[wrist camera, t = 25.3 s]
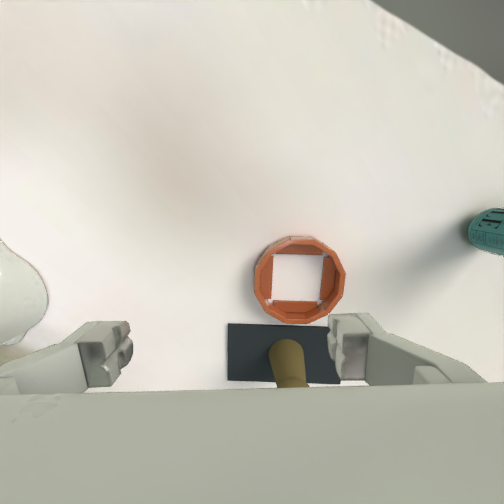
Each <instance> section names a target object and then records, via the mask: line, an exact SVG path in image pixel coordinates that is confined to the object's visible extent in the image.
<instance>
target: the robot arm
mask: <svg viewBox="0 0 504 504" xmlns="http://www.w3.org/2000/svg"><path fill="white" fill-rule="evenodd" d="M46 309H47V292H46V288H45V286H44V283H43V281H42V279H41V278H40V276H39V274H38V273H37V272H36V271H35V269H34V268H33V267H32V266H31V265H30V264H28V263H27V262H26V261H25V260H23V259H22V258H20V257H18V256H17V255H15V254H14V253H12V252H11V251H10V250H9V249H8V248H7V247H6V246H5V245H4V244H3V242H2V241H1V240H0V346H1V345H3V344H7V345H14V344H16V343H18V342H20V341H21V340H22V339H23V337H24V335H25V333H26V331H27V330H29V329H30V328H32V327H33V326H35V325H36V324H37V323H38V322H39V321H40V320H41V319H42V318H43V316H44V314H45V312H46ZM328 327H329V329H330V332H329V333H328V335H327V345H328V351H329V355H330V357H331V359H332V360H333V361H335V368H336V371H337V373H338V375H339V377H340V379H341V380H365V382H366V383H368V384H369V385H370V386H334V387H296V388H258V389H219V390H180V391H142V392H103V393H83V392H84V391H86V390H87V389H88V388H92V387H110V386H112V385H113V383H114V382H115V381H116V379H117V378H118V377H119V375H120V374H121V371H120V369H121V368H123V367H125V366H126V365H127V364H128V363H129V361H130V360H131V357H132V354H133V342H132V340H131V339H130V338H129V337H128V335H129V333H130V327H129V323H128V322H127V321H95V322H87V323H85V324H84V325H83V326H81V327H80V328H79V329H78V330H76V331H75V332H74V333H72V334H71V335H70V336H69V337H67V338H66V339H65V340H63V341H62V342H61V343H59V344H54V345H51V346H49V347H46V348H43V349H41V350H38V351H36V352H33V353H31V354H28V355H26V356H23V357H21V358H18V359H16V360H13V361H11V362H8V363H5V364H3V365H0V504H504V382H491V383H488V382H487V381H485V380H484V379H483V378H482V377H481V376H479V375H478V374H477V373H476V372H475V371H473V370H472V369H471V368H470V367H469V366H467V365H466V364H464V363H462V362H459V361H457V360H455V359H452V358H450V357H447V356H445V355H443V354H440V353H438V352H435V351H433V350H430V349H428V348H426V347H423V346H421V345H418V344H416V343H413V342H411V341H409V340H406V339H404V338H401V337H399V336H396V335H394V334H388V333H387V332H386V331H385V330H384V329H383V328H382V327H381V326H380V325H379V324H378V323H377V322H376V321H375V319H374V318H373V317H372V316H371V315H370V314H369V313H348V314H331V315H329V316H328Z"/></svg>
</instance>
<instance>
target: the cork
mask: <svg viewBox="0 0 504 504" xmlns="http://www.w3.org/2000/svg"><path fill="white" fill-rule="evenodd" d="M269 360H270V363H271V367H272V370H273V374H274V377H275V381H276V384H277V388H296V387H309V385H308V384H307V383H306V374H305V363H304V353H303V349H302V347H301V345H300V344H299V343H297V342H296V341H294V340H291V339H282V340H279V341H277V342H275V343H274V344H273V345H272V346H271V348H270V350H269Z"/></svg>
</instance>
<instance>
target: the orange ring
mask: <svg viewBox="0 0 504 504" xmlns="http://www.w3.org/2000/svg"><path fill="white" fill-rule="evenodd" d="M323 251H324V252H326V253H327V254H328V255H329V257H324V264H323V273H322V283H321V293H320V300H325V301H324V302H323V303H322V304H321V305H319V306H317V302H310V301H279V300H273V305H272V304H270V303H269V302H268V301H267V299H266V298H269V299H271V291H272V271H273V256H271V255H272V254H273V253H275V252H276V254H305V255H322V252H323ZM335 270H336V271H335ZM345 275H346V274H345V271H344V269H343V266H342V264H341V262H340V260H339V258H338V256H337V254H336V253H335V251H333V250H332V249H331V248H329V247H328V246H326V245H324V244H323V243H321V242H320V241H318V240H316V239H315V238H313V237H303V236H289V237H286V238H284V239H282V240H280V241H277V242H276V243H274V244H272V245H270V246H268V248H266V250H265V251H264V253H263V254H262V255H261V258H260V259H259V261H258V262H257V264H256V266H255V281H254V293H255V295H256V297H257V299H258V300H259V302H260V304H261V306H262V307H263V309H264V311H265V312H266V313H268V314H269V315H271V316H273V317H275V318H276V319H278V320H280V321H282V322H283V323H292V324H307V323H308V324H309V323H311V322H313V321H315V320H317V319H320V318H322V317H324V316H326V315H328V313H330V312H331V311H332V309H333V308H334V307H335V306H336V304H337V303H338V302H339V300H340V299H341V298H342V295H343V291H344V283H345ZM334 277H335V280H334ZM333 286H334V288H333Z"/></svg>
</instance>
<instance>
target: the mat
mask: <svg viewBox="0 0 504 504" xmlns="http://www.w3.org/2000/svg"><path fill="white" fill-rule="evenodd" d="M329 332H330V329H329V327H319V326H289V325H259V324H228V380H232V381H261V382H276V381H275V377H274V374H273V370H272V367H271V363H270V360H269V350H270V348H271V346H272V345H273V344H274V343H275V342H277V341H279V340H282V339H291V340H294V341H296V342H297V343H299V344H300V345H301V347H302V349H303V353H304V363H305V374H306V383H319V384H340V382H341V379H340V377H339V375H338V373H337V371H336V368H335V361H333V360H332V359H331V357H330V355H329V351H328V345H327V335H328V333H329Z"/></svg>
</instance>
